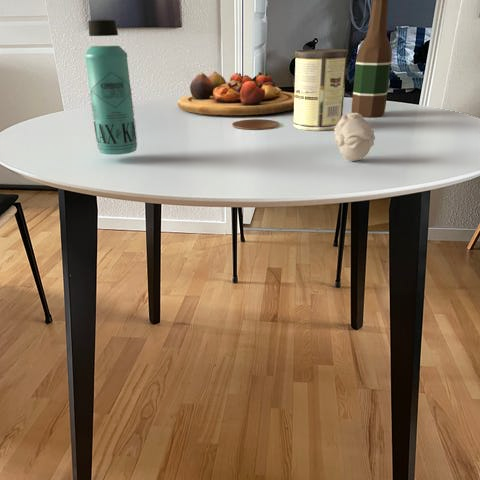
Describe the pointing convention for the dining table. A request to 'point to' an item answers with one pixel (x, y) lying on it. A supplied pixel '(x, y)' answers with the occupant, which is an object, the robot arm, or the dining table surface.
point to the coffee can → (319, 88)
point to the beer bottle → (373, 65)
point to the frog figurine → (354, 136)
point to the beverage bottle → (110, 93)
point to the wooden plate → (235, 96)
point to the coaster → (255, 124)
